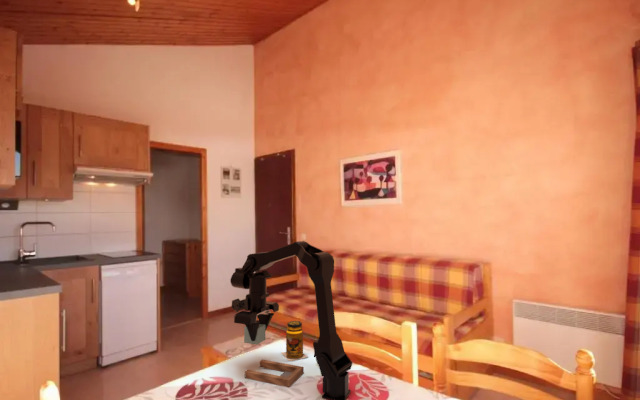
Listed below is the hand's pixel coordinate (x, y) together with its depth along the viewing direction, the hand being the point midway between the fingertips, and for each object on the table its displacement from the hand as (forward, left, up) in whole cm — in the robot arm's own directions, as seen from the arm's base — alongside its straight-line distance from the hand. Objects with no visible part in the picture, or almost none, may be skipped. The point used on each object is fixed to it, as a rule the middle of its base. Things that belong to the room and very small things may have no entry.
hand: (257, 338), depth 116 cm
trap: (-12, +2, -10) cm, 15 cm away
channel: (-7, +2, -10) cm, 12 cm away
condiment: (-6, -15, -10) cm, 19 cm away
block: (+1, 0, -1) cm, 1 cm away
